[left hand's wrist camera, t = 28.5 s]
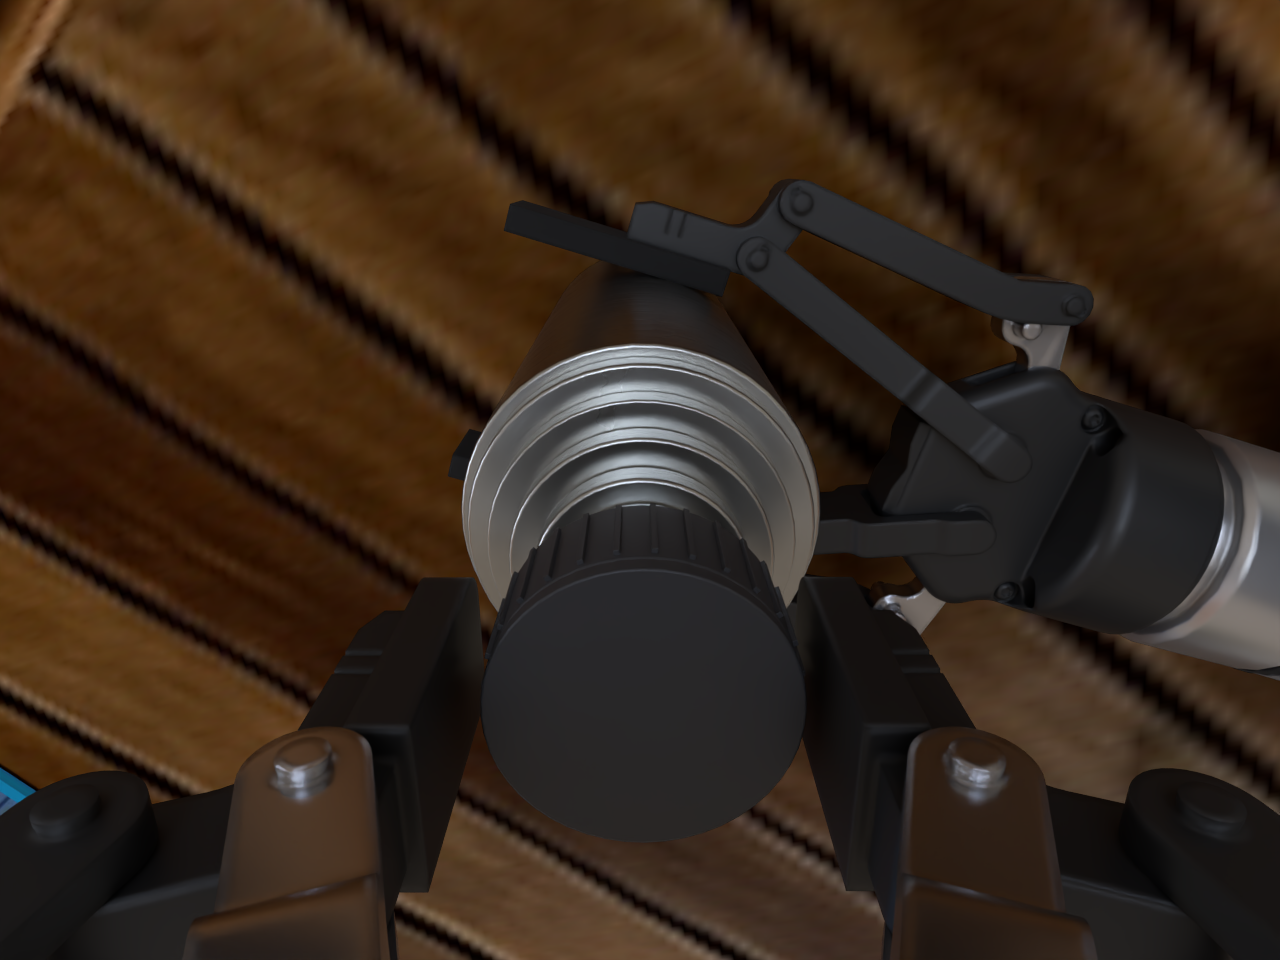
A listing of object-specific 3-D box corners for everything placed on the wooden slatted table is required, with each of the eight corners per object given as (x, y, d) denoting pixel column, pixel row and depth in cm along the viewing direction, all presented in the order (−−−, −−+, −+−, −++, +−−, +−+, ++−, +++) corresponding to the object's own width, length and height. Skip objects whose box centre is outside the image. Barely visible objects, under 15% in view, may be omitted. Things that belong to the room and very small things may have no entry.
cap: (550, 774, 13) (535, 875, 11) (459, 542, 12) (426, 613, 10) (810, 713, 13) (839, 808, 11) (749, 466, 11) (772, 526, 9)
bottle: (519, 382, 33) (309, 770, 12) (597, 218, 30) (512, 328, 9) (675, 459, 34) (739, 937, 13) (761, 305, 32) (1010, 577, 11)
